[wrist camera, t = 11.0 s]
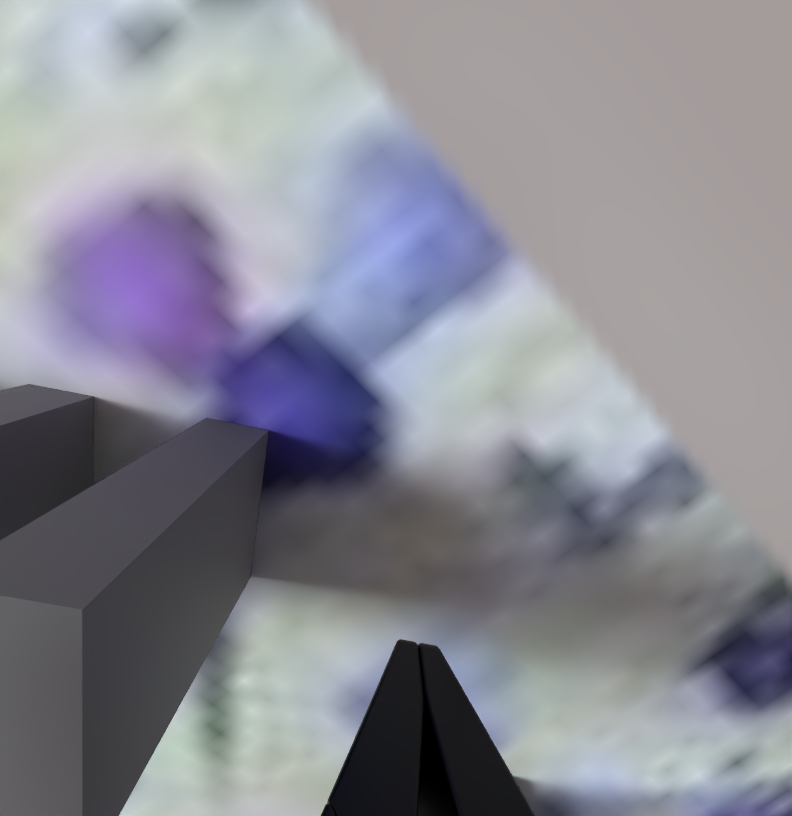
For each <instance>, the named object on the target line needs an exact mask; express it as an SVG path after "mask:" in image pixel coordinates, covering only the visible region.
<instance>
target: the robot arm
mask: <svg viewBox="0 0 792 816" xmlns="http://www.w3.org/2000/svg"><path fill="white" fill-rule="evenodd" d="M321 816H535V814H534V813H533V811H532V809H531V807H530V806H529V804H528V802H527V800H526V799H525V797H524V795H523V793H522V792H521V790H520V787H519V786H518V785H517V783H516V781H515V779H514V778H513V776H512V774H511V773H510V771H509V769H508V767H507V766H506V764H505V762H504V760H503V759H502V757H501V755H500V753H499V752H498V750H497V748H496V746H495V745H494V743H493V741H492V739H491V738H490V736H489V734H488V732H487V731H486V729H485V727H484V725H483V724H482V722H481V720H480V718H479V717H478V715H477V713H476V711H475V710H474V708H473V706H472V704H471V703H470V701H469V699H468V697H467V696H466V694H465V692H464V691H463V689H462V687H461V685H460V684H459V682H458V680H457V678H456V677H455V675H454V673H453V671H452V670H451V668H450V666H449V664H448V663H447V661H446V659H445V657H444V656H443V654H442V652H441V650H440V649H439V648H438V647H437V646H435V645H429V644H424V643H420V644H418V645H417V643H416V642H412V641H407V640H401V639H400V640H398V641H397V643H396V645H395V647H394V650H393V652H392V654H391V656H390V659H389V661H388V663H387V666H386V668H385V670H384V672H383V675H382V677H381V679H380V682H379V684H378V686H377V689H376V691H375V693H374V695H373V698H372V700H371V702H370V705H369V707H368V709H367V711H366V714H365V716H364V718H363V721H362V723H361V725H360V728H359V730H358V732H357V734H356V737H355V739H354V741H353V744H352V746H351V748H350V750H349V753H348V755H347V757H346V760H345V762H344V764H343V767H342V769H341V771H340V773H339V776H338V778H337V780H336V783H335V785H334V787H333V789H332V792H331V794H330V796H329V799H328V802H327V804H326V805H325V807H324V809H323V812H322V814H321Z"/></svg>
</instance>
